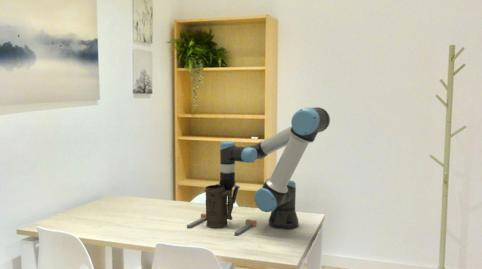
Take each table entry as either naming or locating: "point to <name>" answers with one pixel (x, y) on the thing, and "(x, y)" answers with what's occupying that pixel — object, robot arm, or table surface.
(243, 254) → the table surface
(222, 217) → the beer stein
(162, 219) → the table surface
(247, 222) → the grey and brown bars
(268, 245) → the table surface
